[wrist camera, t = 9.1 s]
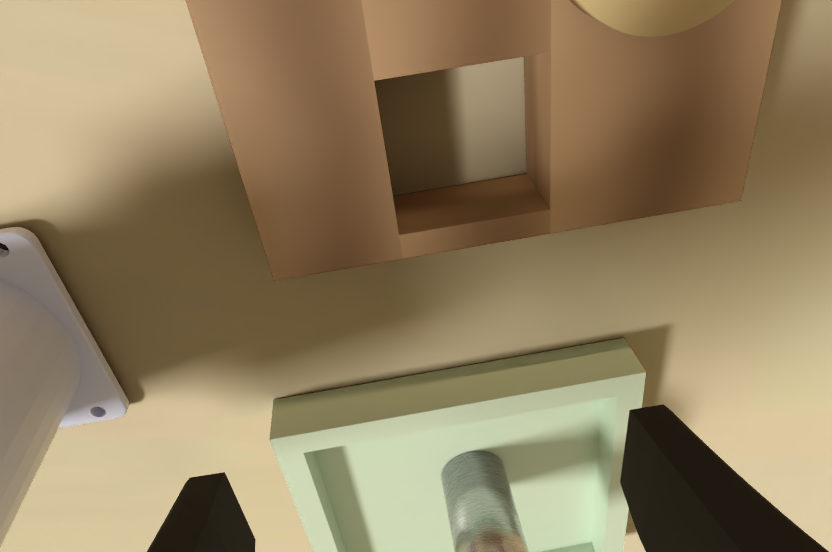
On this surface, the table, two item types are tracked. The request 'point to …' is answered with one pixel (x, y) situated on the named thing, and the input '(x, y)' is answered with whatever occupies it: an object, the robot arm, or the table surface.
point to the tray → (465, 450)
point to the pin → (481, 505)
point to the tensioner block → (544, 115)
